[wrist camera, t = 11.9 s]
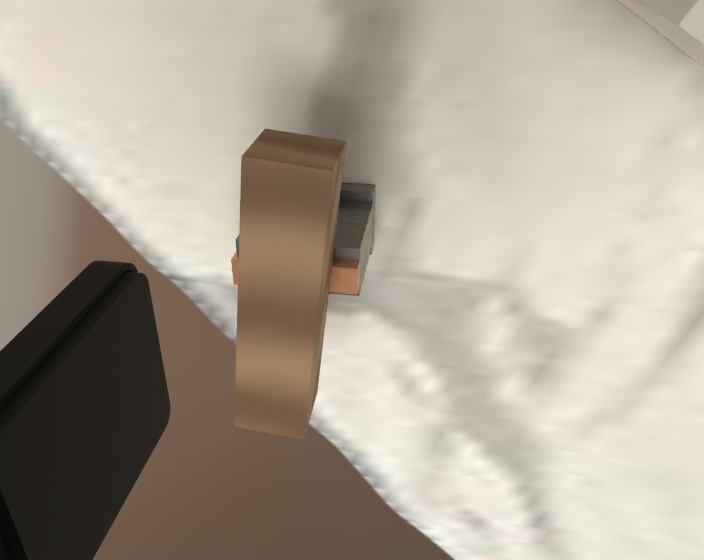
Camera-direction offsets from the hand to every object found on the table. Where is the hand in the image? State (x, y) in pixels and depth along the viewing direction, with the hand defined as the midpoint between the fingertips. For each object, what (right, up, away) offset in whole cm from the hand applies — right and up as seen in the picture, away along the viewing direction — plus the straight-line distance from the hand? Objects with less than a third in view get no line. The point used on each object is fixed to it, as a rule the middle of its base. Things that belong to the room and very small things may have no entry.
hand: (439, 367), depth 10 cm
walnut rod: (-5, +2, +25) cm, 26 cm away
